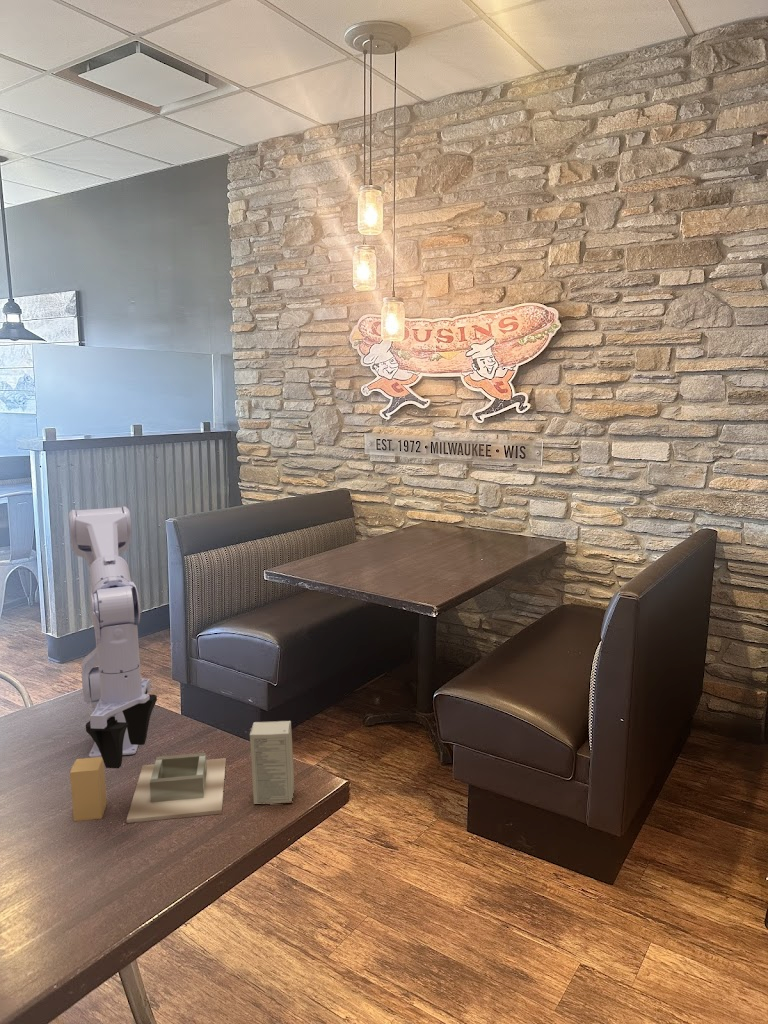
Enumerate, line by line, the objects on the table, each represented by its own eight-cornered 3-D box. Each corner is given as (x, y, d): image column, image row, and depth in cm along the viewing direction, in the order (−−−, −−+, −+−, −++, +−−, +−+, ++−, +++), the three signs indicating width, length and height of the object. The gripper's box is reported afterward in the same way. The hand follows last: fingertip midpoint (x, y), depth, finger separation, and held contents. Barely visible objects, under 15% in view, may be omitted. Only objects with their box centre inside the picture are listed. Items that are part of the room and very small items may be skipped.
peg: (80, 806, 114) (76, 759, 112) (106, 803, 114) (103, 756, 113) (74, 821, 110) (69, 772, 108) (101, 818, 110) (97, 770, 109)
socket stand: (143, 768, 125) (141, 746, 124) (226, 761, 127) (225, 740, 126) (126, 823, 109) (125, 798, 108) (221, 813, 111) (220, 789, 111)
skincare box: (294, 789, 118) (292, 720, 116) (292, 805, 114) (290, 733, 112) (255, 790, 118) (253, 720, 116) (251, 806, 113) (249, 734, 111)
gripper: (121, 685, 99) (128, 779, 101) (166, 652, 113) (172, 735, 115) (73, 684, 100) (80, 777, 102) (124, 651, 114) (130, 733, 116)
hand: (126, 755), depth 108 cm, fingers open, 7 cm apart
